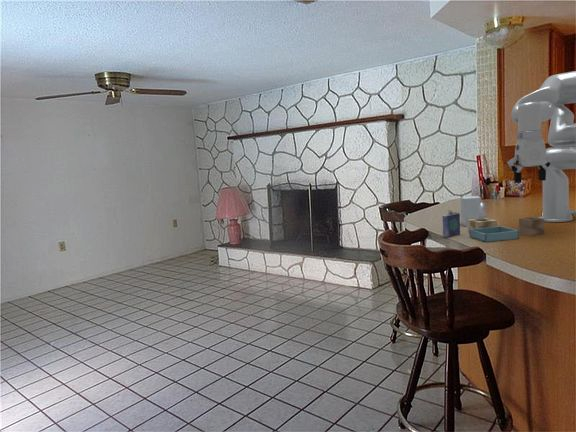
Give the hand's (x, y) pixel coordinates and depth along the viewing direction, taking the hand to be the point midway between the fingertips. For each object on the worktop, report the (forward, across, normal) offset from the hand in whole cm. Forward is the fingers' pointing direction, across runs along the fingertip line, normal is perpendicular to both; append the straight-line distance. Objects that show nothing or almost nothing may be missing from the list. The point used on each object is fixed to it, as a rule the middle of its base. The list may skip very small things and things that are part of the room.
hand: (530, 181), depth 159 cm
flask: (+20, -26, +11) cm, 35 cm away
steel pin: (+20, -13, +12) cm, 27 cm away
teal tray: (+20, -15, 0) cm, 25 cm away
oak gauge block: (+20, -13, +12) cm, 27 cm away
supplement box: (+20, -8, +29) cm, 36 cm away
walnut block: (+20, 0, 0) cm, 20 cm away
